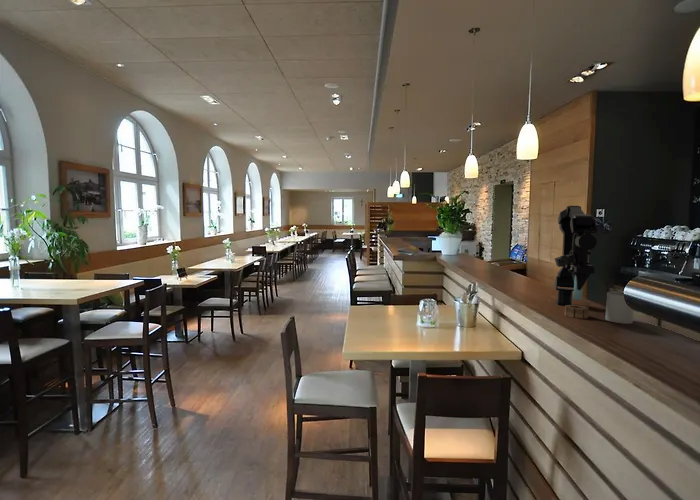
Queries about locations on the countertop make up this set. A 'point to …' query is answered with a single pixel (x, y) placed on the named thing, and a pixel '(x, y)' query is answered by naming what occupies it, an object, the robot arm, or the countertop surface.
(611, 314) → the cup
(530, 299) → the countertop surface
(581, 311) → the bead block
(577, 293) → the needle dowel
